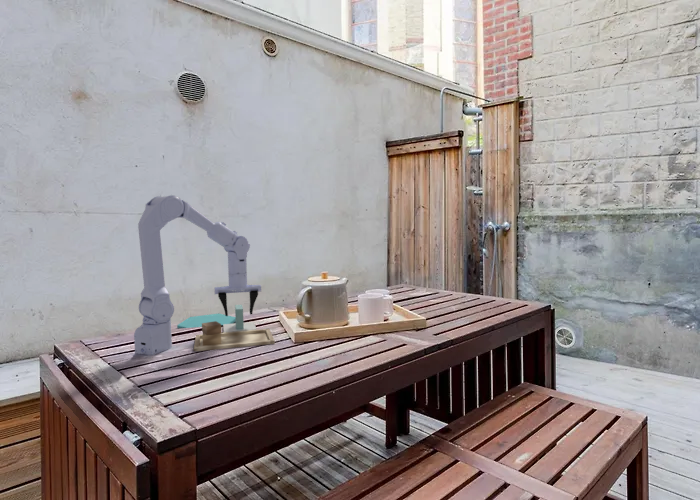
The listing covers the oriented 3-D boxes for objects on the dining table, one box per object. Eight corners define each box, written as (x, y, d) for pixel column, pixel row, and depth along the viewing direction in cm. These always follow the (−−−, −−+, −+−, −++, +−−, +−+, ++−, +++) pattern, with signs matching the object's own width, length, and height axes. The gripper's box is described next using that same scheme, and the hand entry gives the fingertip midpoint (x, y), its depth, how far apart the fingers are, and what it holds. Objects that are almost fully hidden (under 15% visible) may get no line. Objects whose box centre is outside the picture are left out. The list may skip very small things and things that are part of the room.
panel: (236, 329, 139) (235, 309, 139) (235, 324, 146) (235, 305, 145) (243, 329, 140) (243, 309, 139) (242, 323, 146) (241, 304, 146)
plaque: (220, 336, 144) (241, 319, 163) (220, 330, 143) (241, 313, 163) (169, 334, 145) (196, 317, 165) (169, 329, 145) (196, 312, 165)
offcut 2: (203, 345, 125) (202, 335, 125) (203, 340, 130) (203, 331, 130) (221, 344, 127) (220, 333, 127) (221, 339, 132) (220, 329, 131)
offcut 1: (206, 335, 125) (206, 326, 125) (202, 331, 129) (201, 323, 129) (221, 332, 128) (221, 324, 127) (216, 329, 131) (216, 321, 131)
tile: (223, 338, 137) (223, 332, 137) (223, 330, 146) (223, 324, 146) (256, 335, 140) (256, 329, 139) (254, 327, 149) (254, 321, 149)
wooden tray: (194, 355, 121) (193, 348, 120) (196, 341, 134) (196, 334, 134) (274, 347, 127) (274, 340, 127) (269, 334, 140) (269, 328, 140)
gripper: (213, 275, 135) (215, 319, 136) (261, 273, 139) (262, 315, 141) (214, 272, 142) (215, 314, 143) (259, 270, 146) (260, 311, 147)
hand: (238, 314), depth 142 cm, fingers open, 7 cm apart
